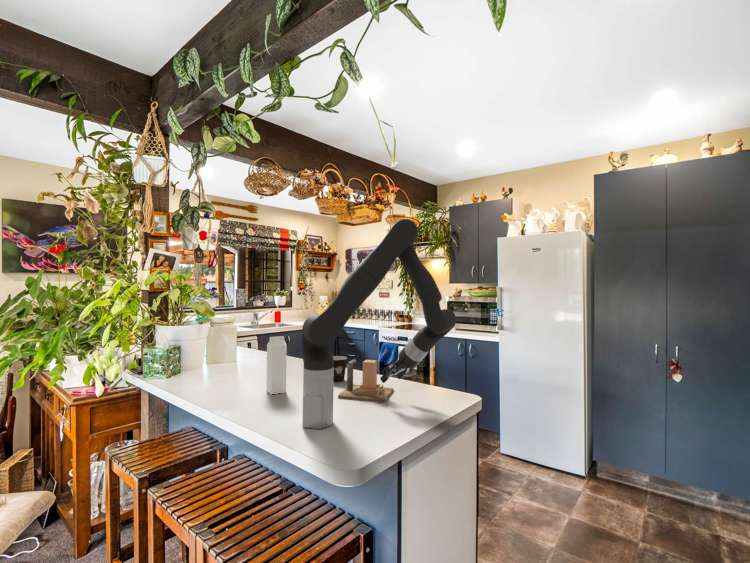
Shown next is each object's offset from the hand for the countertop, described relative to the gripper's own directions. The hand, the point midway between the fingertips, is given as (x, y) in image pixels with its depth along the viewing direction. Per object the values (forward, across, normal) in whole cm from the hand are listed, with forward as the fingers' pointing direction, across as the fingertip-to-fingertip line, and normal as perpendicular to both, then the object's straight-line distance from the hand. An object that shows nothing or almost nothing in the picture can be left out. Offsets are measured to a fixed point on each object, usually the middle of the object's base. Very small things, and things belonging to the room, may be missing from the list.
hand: (390, 378), depth 138 cm
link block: (+13, 0, -3) cm, 13 cm away
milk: (+32, +26, -21) cm, 46 cm away
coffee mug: (+33, -2, -21) cm, 39 cm away
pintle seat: (+14, +1, -3) cm, 15 cm away
